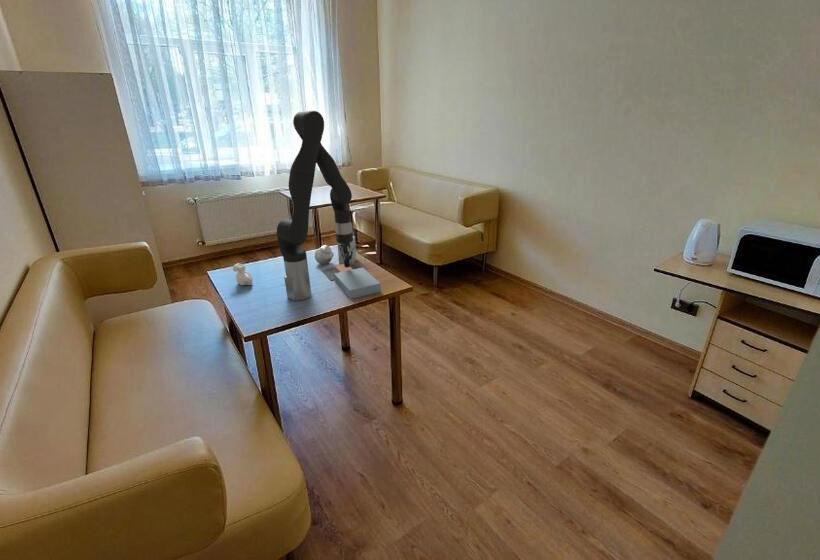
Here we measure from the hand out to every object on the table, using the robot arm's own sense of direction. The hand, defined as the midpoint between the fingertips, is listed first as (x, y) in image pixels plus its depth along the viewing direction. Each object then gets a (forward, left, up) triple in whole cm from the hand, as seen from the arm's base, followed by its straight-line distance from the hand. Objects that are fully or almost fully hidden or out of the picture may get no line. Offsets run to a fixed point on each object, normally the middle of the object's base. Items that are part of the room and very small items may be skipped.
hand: (347, 266), depth 191 cm
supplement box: (+13, +15, -5) cm, 20 cm away
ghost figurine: (+3, +21, -5) cm, 22 cm away
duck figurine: (-36, +30, -5) cm, 47 cm away
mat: (+2, +6, -5) cm, 8 cm away
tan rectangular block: (+1, +4, -5) cm, 6 cm away
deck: (-4, -11, -5) cm, 13 cm away
